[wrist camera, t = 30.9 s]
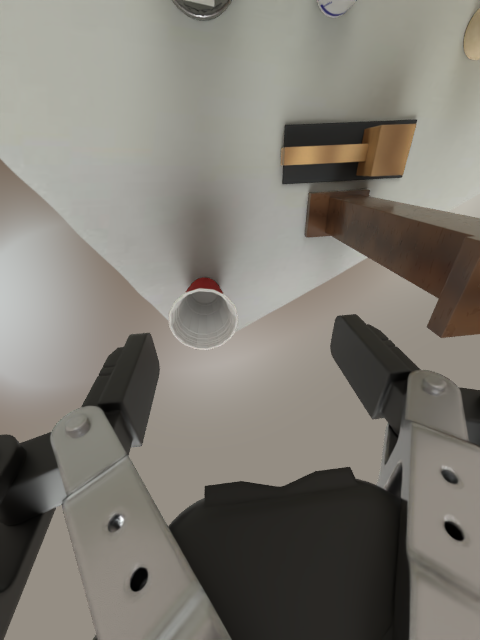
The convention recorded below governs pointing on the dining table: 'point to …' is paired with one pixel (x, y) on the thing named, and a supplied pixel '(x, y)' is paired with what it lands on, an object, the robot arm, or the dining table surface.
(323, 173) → the mat
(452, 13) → the dining table surface
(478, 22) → the candle
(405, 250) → the stand
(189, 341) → the plastic cup
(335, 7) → the energy drink
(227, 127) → the dining table surface
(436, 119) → the dining table surface
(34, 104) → the dining table surface
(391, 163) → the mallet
